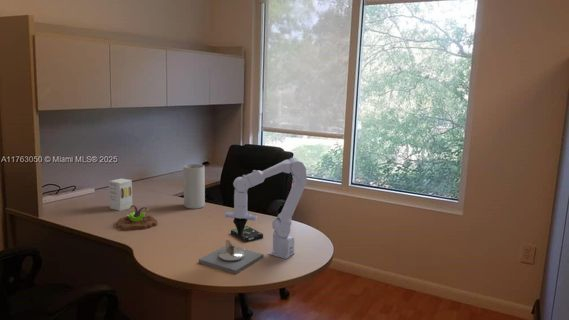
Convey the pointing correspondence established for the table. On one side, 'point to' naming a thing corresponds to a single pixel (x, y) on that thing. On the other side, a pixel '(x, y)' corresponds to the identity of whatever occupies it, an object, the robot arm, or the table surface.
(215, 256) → the dial panel
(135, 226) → the plant
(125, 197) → the supplement box
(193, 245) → the table surface
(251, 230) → the disk drive
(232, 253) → the dial
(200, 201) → the cylinder vase
